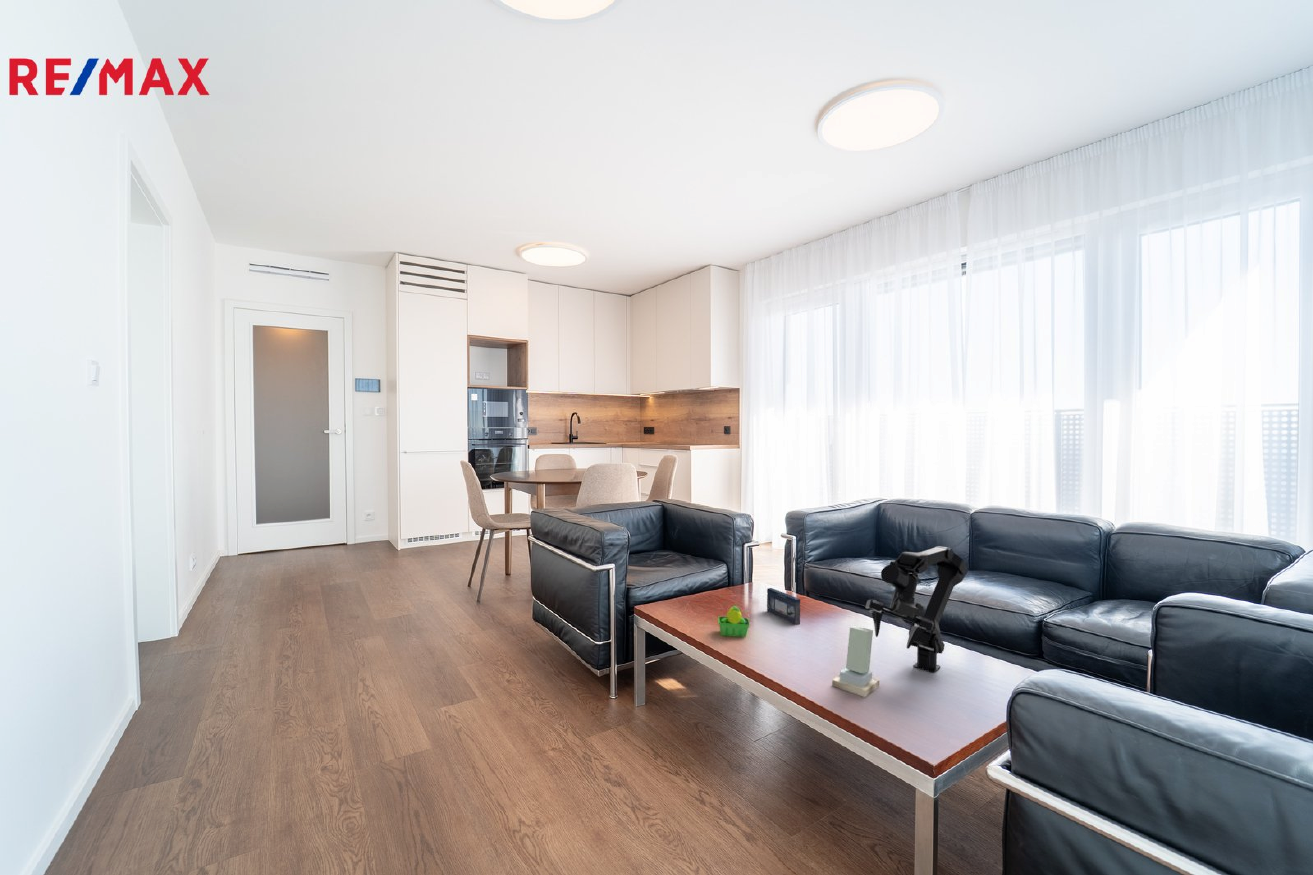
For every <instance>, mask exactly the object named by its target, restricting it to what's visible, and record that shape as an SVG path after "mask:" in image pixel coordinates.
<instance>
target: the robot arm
mask: <svg viewBox="0 0 1313 875" xmlns="http://www.w3.org/2000/svg"><path fill="white" fill-rule="evenodd" d="M933 565H935V566H936V567H937V568H936V573H937V577H938V580H937V582H936V584H935V586H934V589H933V592H932V593H931V596H930V598H929V601H928V604H927V606H926V608H925V606H924V604H921V603H918V602H917V603H916V602H915V594H916V591H917V587H918V586H917V585H918V584H921V583H922V581H921V578H920V577H919V575H918V574H920V575H921V574H923V573H924V572H926V571H928V567H929V566H933ZM968 570H969V567H968V565H967V563H966V561H965V560H964V559H963V557H961V556H959V555H958V554H956V552H955V551H953V549H952V548H950V547H946V546H942V545H941V546H940V545H937V546H935V547H933V548H930V549H929V548H928V549H927V550H922V551H919V552H912V551H903V552H901V553H900V555H899V556H898V557H897V558H896V559H895V560H894V561H890V563H889V564H887V565H886V566H884V567H883V568H882V569H881V571H880V577H881V579H882V581H883V582H884V583H887V584H888V585H890V586H891V587H893V588H894V592H893V593H892V599H891V602H890V606H889V607H888V606H886V605H885V603H884V602H882V601H879V600H876V599H874V598H872V599H868V600H867V601H866V604H865V609H868V612H869V614H870V613H871V616H872V620H873V627H874V634H875V637H876V638H878V637H879V633H880V629H881V623H882V617H883V614H888V615H891V616H894V617H896V618H899V619H902V620H904V621H908V622H910V623H911V625H910V628H909V631H908V639H907V643H906V649H910V648H911V646H912V647H915V648H917V649H916V650H917V651H916V662H915V663H914V664H912V667H913V668H917V669H919V670H923V671H926V672H930V673H933V674H934V673H936V672H937V671H938V670H939V669H941V665H939V664H937V663H938V661H937V660H938V659H937V658H938V654H943V652H944V650H945V643H944V642H943V640H942V638H941V635H942V634H941V633H942V632H941V630H940V626H939V624H940V621H941V618H942V616H943V614H944V612H945V609H946V607H947V604H948V602H949V600H950V596H951V594H952V593H953V589H954V588H955V587H956V586H957V585H959V584H960V583H962V582H963V580H964V579H965V576H966V575H967V574H968ZM924 608H925V610H924ZM882 612H883V613H882Z"/></svg>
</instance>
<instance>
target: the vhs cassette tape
mask: <svg viewBox="0 0 1313 875" xmlns="http://www.w3.org/2000/svg"><path fill="white" fill-rule="evenodd" d="M766 592H767V593H766V594H767V595H766V611H767V613H770V614H771V615H773V614H774V616H776V617H778V618H780V619H783V620H784V621H786V622H788V623H791V624H793V625H800V624H801V599H800V598H798V597H796V596H793V595H791V594H788V593H786V592H783V591H781V590H778V589H775V588H772V587H768V588H766Z"/></svg>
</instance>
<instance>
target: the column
mask: <svg viewBox="0 0 1313 875" xmlns="http://www.w3.org/2000/svg"><path fill="white" fill-rule="evenodd" d="M873 635H874V630H873V629H869V628H866V627H862V626H858V625H855V626H850V627H849V634H848V645H847V654H846V662H845V666H846V667H845V668H846V669H849V670H853V671H856V672H859V673H862V674H863V673H866V672H869V671H870V667H871V666H870V665H871V664H870V663H871V654H872V644H873Z"/></svg>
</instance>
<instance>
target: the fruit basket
mask: <svg viewBox="0 0 1313 875" xmlns="http://www.w3.org/2000/svg"><path fill="white" fill-rule="evenodd" d="M717 618H718V622H717V623H718V625H719V631H720V634H721V636H727V637H738V636H739V637H741V638H742V637H743V638H745V637H747V633H748V630H749V627H750V620H749V618H748V617H743V616H742V612H741V610H740V609H739V608H738V606H735V605H734V606H731V607H730V608H729V610H728V611H727V613H726V616H718V617H717Z"/></svg>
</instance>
